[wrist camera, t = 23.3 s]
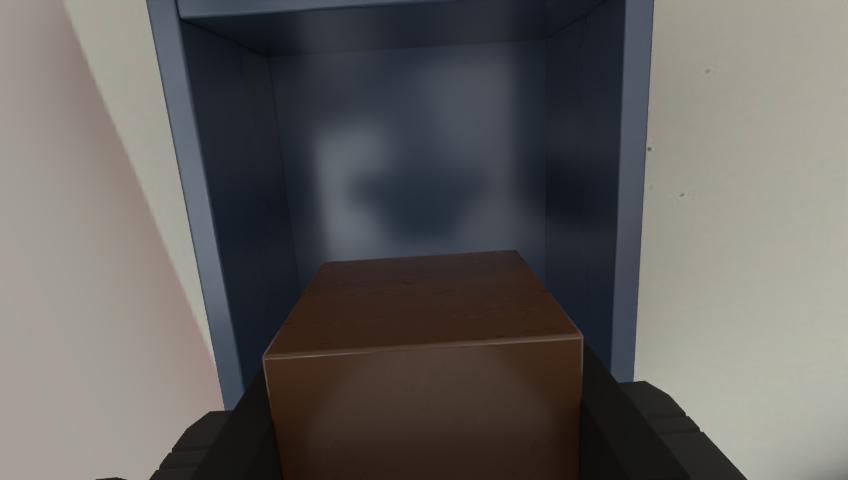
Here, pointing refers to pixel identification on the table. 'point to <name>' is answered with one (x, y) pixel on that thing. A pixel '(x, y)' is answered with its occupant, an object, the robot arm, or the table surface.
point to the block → (427, 373)
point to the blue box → (407, 149)
